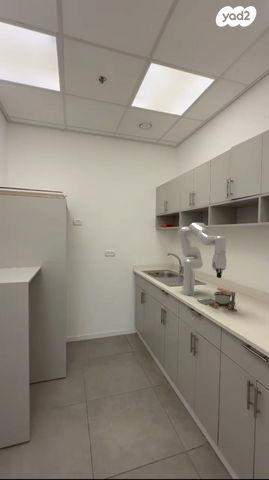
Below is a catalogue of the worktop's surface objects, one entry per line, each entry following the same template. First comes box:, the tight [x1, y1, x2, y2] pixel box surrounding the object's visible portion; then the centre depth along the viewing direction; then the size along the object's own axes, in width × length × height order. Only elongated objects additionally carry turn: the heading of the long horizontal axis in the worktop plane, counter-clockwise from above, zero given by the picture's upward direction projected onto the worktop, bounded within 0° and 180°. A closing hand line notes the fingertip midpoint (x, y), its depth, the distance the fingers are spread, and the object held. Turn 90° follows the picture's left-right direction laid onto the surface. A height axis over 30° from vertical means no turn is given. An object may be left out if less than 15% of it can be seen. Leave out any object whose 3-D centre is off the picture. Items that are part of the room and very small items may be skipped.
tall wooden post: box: [216, 286, 236, 297], centre depth 169 cm, size 16×3×2 cm, turn 23°
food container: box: [213, 291, 232, 308], centre depth 174 cm, size 12×6×10 cm, turn 77°
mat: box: [196, 298, 215, 306], centre depth 181 cm, size 10×15×1 cm, turn 113°
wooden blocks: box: [207, 295, 238, 312], centre depth 169 cm, size 16×19×10 cm
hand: (218, 277), depth 169 cm, fingers closed
